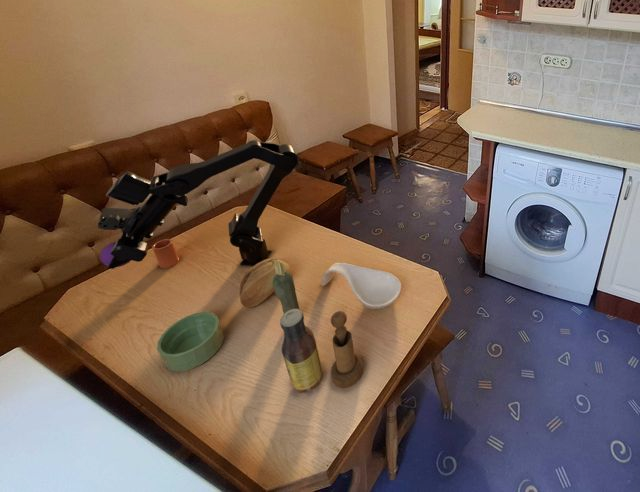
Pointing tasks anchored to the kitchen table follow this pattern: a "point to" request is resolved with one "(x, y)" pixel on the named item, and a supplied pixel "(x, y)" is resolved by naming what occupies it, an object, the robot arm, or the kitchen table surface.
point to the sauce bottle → (300, 352)
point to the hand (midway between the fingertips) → (113, 260)
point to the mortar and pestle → (344, 354)
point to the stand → (165, 253)
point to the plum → (108, 255)
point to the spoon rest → (367, 284)
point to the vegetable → (284, 287)
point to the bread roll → (259, 282)
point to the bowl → (190, 341)
